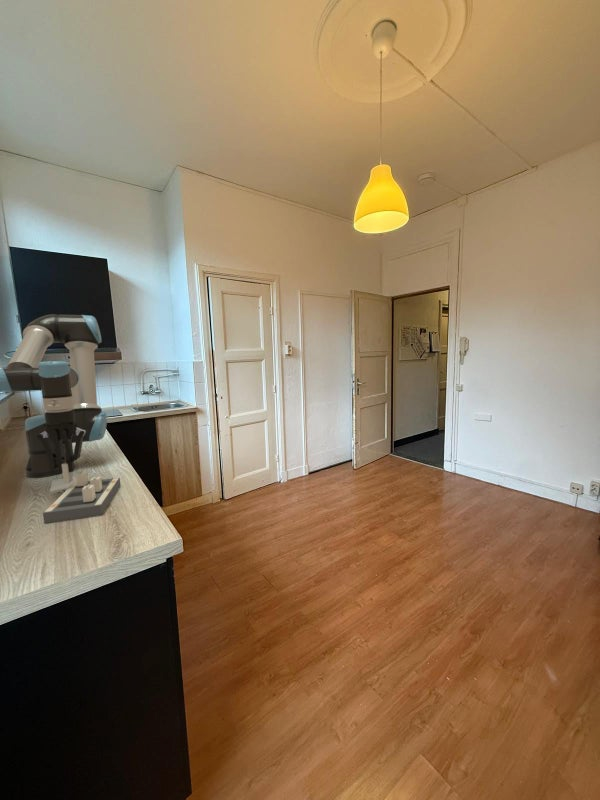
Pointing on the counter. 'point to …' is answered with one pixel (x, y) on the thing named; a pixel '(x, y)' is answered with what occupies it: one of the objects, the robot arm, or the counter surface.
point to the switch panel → (81, 502)
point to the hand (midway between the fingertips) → (68, 481)
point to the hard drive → (61, 485)
